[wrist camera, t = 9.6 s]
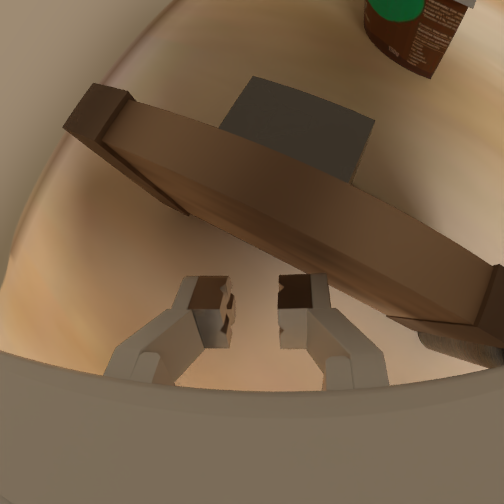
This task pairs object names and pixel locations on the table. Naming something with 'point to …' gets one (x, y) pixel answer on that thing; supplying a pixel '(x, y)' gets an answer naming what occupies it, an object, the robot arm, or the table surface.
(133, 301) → the table surface
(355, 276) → the brown wooden bar
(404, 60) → the yogurt cup
